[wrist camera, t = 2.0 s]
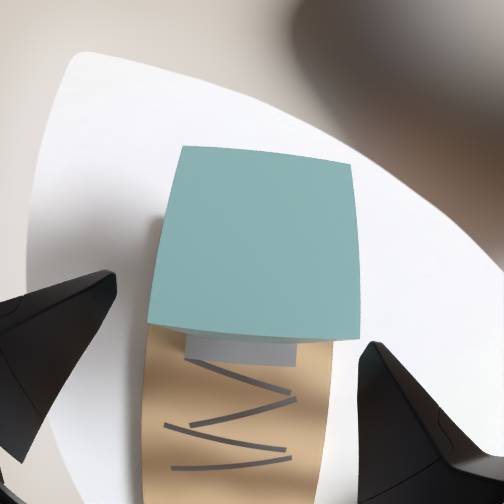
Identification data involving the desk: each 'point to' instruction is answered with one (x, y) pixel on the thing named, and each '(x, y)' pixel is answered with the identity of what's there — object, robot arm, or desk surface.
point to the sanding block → (257, 256)
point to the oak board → (231, 426)
